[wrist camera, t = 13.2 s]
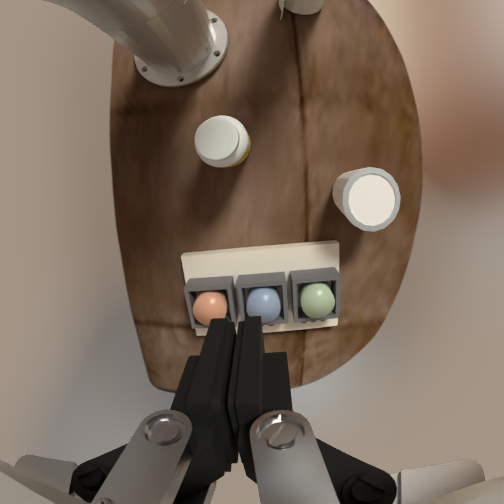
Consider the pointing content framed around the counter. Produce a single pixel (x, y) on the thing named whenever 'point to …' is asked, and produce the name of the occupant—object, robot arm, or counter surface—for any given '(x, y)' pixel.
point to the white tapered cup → (367, 198)
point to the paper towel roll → (301, 6)
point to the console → (264, 280)
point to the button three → (316, 299)
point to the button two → (263, 303)
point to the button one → (210, 305)
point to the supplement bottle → (222, 142)
